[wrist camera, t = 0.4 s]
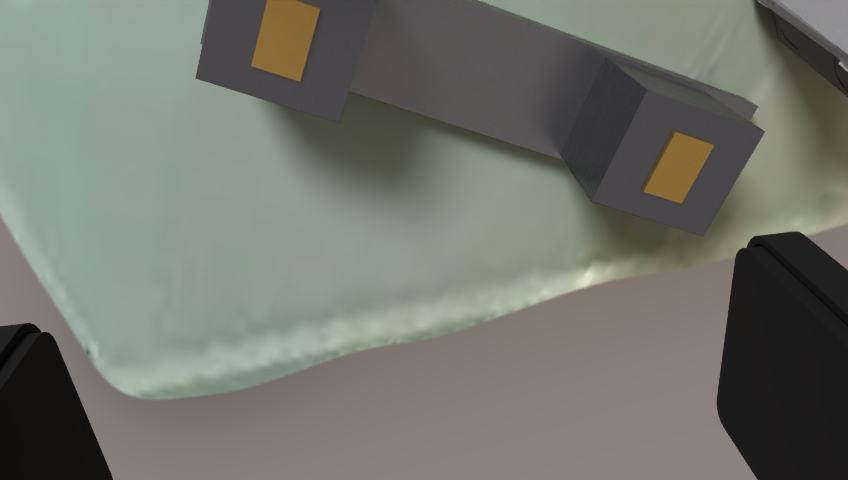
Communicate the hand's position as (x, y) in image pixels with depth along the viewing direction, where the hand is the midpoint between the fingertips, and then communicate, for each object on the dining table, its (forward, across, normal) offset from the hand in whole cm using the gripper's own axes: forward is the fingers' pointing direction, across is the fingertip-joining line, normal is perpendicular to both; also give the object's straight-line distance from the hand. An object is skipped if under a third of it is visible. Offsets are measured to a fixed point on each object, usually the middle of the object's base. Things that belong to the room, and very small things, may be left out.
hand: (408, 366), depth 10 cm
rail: (+28, -5, +3) cm, 29 cm away
